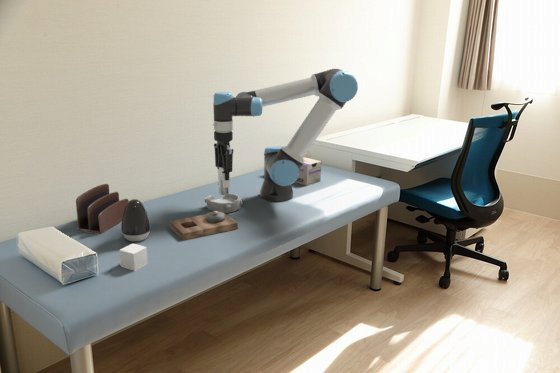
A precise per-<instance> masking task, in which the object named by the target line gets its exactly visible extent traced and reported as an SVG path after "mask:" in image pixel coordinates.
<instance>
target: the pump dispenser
mask: <svg viewBox="0 0 560 373" xmlns="http://www.w3.org/2000/svg"><path fill="white" fill-rule="evenodd" d="M120 223H121V224H120V231H121V233H122V235H123V238H125V239H126V240H127V241H129V242H132V243H137V242H142V241H145V239H147V238H148V237H149V234H150V231H151V229H152V228H151V222H150V218H149V215H148V212H147V210H146V207H145V205H144V204H143V203H142V201H141V200H139V199H136V198H133V199H130V200H129V202H128V203H127V204H126V206H125V209H124V212H123V217H122V221H121V222H120Z"/></svg>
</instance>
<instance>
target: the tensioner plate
mask: <svg viewBox="0 0 560 373" xmlns="http://www.w3.org/2000/svg"><path fill="white" fill-rule="evenodd" d="M168 223H169V229H171V230H172V231H173V232H174V233H175V234H176V235H177V236H178V237H179V238H180V239H181V240H183V241H186V240H192V239H196V238H200V237H205V236H210V235H215V234H219V233H225V232H229V231H233V230H234V231H235V230H238V229H239V227H238V226H239V224H238V223H239V222H238V221H237V220H235V219H233V218H232V217H230V216H229V215H227V213H223V212H222V211H221V212H217V211H209V212H207V213H205V214H200V215H195V216H189V217H185V218H184V217H183V218H179V219H173V220H169V222H168Z"/></svg>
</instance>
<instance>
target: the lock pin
mask: <svg viewBox="0 0 560 373" xmlns="http://www.w3.org/2000/svg"><path fill="white" fill-rule="evenodd" d="M223 171H224V169H223V166H220V167H219V185H218V194H219V195H220V196H225V195H228V194H229V193H230V190H229V188H230V186H229V187H226V188H223V173H222V172H223Z"/></svg>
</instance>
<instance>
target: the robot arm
mask: <svg viewBox="0 0 560 373" xmlns="http://www.w3.org/2000/svg"><path fill="white" fill-rule="evenodd" d="M358 88H359V85H358V80H357V78H356V77H355V75H354V74H352V73H351V72H349V71H347V70H343V69H340V68H332V69H327V70H324V71H321V72H317V73H313V74H311V76H310V77H306V78H302V79H298V80H294V81H290V82H285V83H281V84H276V85H272V86H267V87H263V88H260V89H255V90H251V91H241V92H239V93H237V94H236V96H233V93H232V92H230V91H217V92H214V94H213V123H212V125H213V130H214V132H213V140H214V141H215V142H216V143H214V144H213V147H214V162H215V163H214V164H215V167H216V168H217V173H218V175H217V176H218V178H217V179H218V181H217V184H218V186H219V167H220V166H223V169H224V171H223V172H222V173H223V188H226V187H229V188H230V173H231V172H233V160H234V159H233V158H234V155H233V154H234V149H233V148H231V144H230V142H231V141H233V135H234V134H233V126H234V125H233V117H260V116H261V115H262V114H263V107H268V106H271V105H276V104H280V103H285V102H289V101H293V100H297V99H302V98H306V97H307V98H308V97H310V96H316V97H318V99H317V101H316V102H315V104H314V105H313V107H312V108H311V109H310V111H309V112H308V114H307V116H306V117H305V118H304V120H303V121H302V123H301V124H300V126H299V127H298V128H297V130H296V132H294V134H293V136H292V137H291V139H290V141H289V142H288V143H287V145H286V146H267V147H265V148H264V150H263V151H264V152H263V156H264V161H263V162H264V163H263V164H264V165H263V181H262V184H261V188H260V190H259V197H260V198H261V199H263V200H265V201H269V202H284V201H289V200H292V199H293V198H294V191H293V188H292V184H294V183H295V181H296V180H297V178H298V176H299V170H300V168H301V167H302V165H303V164H304V159H303V158H304V157H305V156H306V154H307V153H308V152H309V150H310V149H311V147H312V146H313V144H315V142H316V141H317V139H318V137H319V136H320V134H321V133H322V131H323V130H324V128H325V127H326V126H327V125H328V123H329V121H330V120H331V119H332V117H333V115H335V113H336V111H337V110H343V108H344V106H345V105H346V103H347V102H349V101H352V100H353V99H354V98H355V97H356V94H357V93H358ZM292 197H293V198H292Z"/></svg>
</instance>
